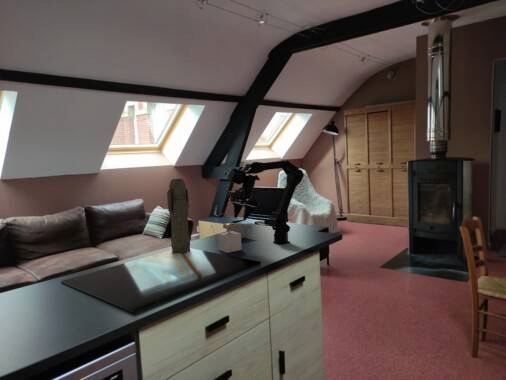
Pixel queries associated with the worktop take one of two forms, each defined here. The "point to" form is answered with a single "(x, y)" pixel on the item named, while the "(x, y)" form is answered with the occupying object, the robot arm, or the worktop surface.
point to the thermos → (179, 215)
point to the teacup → (241, 229)
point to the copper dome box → (229, 241)
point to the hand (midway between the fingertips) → (239, 218)
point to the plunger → (229, 226)
